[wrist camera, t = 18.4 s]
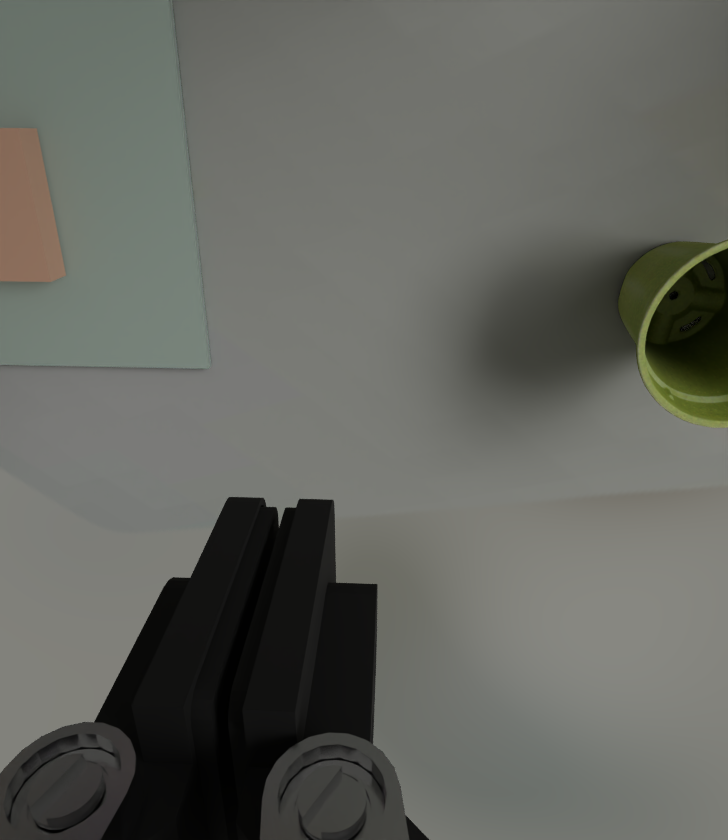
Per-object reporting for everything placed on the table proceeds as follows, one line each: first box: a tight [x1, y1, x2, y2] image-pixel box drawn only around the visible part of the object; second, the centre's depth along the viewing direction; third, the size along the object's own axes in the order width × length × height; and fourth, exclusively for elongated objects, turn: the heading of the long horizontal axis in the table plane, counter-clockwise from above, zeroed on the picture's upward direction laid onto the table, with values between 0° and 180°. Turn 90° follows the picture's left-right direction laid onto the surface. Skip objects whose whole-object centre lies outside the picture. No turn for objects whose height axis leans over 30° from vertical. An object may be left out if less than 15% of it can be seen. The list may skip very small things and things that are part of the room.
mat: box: [0, 0, 211, 369], centre depth 36 cm, size 20×16×1 cm
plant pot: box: [618, 240, 728, 428], centre depth 33 cm, size 9×9×9 cm
